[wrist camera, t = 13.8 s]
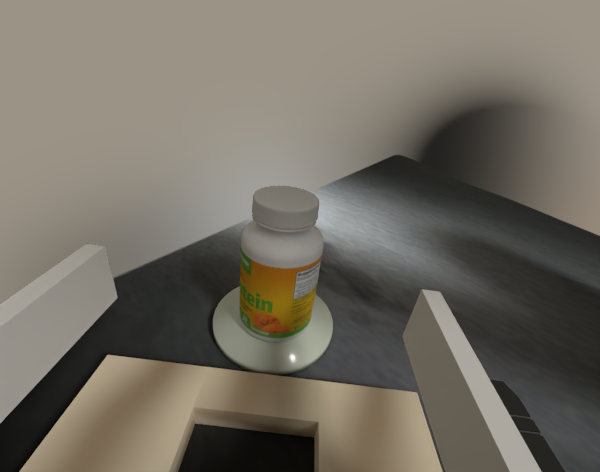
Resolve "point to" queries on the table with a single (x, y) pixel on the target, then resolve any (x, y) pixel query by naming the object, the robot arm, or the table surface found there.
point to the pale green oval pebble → (270, 354)
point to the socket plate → (230, 419)
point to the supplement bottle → (280, 263)
